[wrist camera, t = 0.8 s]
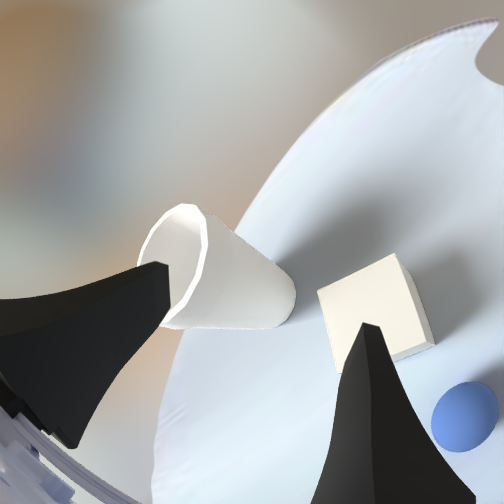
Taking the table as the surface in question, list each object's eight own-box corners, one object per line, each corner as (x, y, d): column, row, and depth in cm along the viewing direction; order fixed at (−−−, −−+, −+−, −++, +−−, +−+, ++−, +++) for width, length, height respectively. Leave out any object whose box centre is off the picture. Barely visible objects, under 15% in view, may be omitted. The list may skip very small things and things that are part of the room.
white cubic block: (435, 345, 19) (426, 341, 15) (368, 371, 22) (337, 374, 18) (412, 276, 22) (394, 252, 18) (350, 305, 25) (316, 290, 21)
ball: (499, 427, 13) (506, 444, 9) (440, 450, 15) (432, 471, 12) (487, 368, 16) (493, 371, 12) (429, 393, 18) (420, 402, 14)
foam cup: (307, 246, 30) (213, 185, 21) (312, 339, 26) (203, 316, 17) (237, 266, 36) (142, 226, 27) (234, 346, 32) (128, 326, 23)
